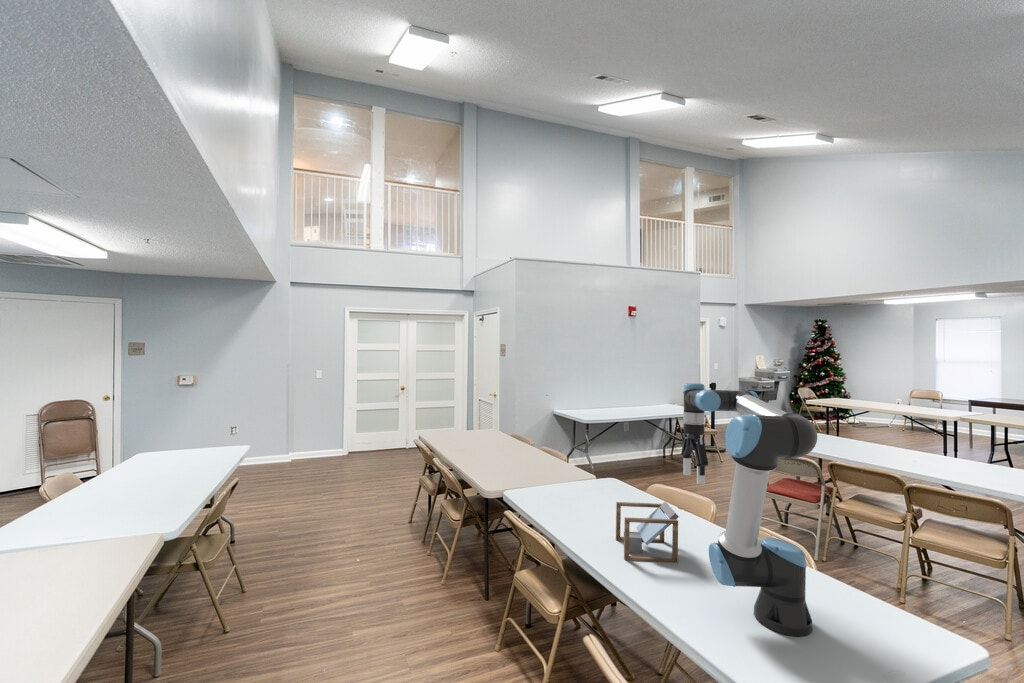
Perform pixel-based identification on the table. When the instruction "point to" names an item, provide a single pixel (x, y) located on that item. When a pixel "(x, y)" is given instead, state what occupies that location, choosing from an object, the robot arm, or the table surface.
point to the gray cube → (635, 542)
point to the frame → (626, 539)
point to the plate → (654, 529)
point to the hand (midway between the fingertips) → (693, 479)
